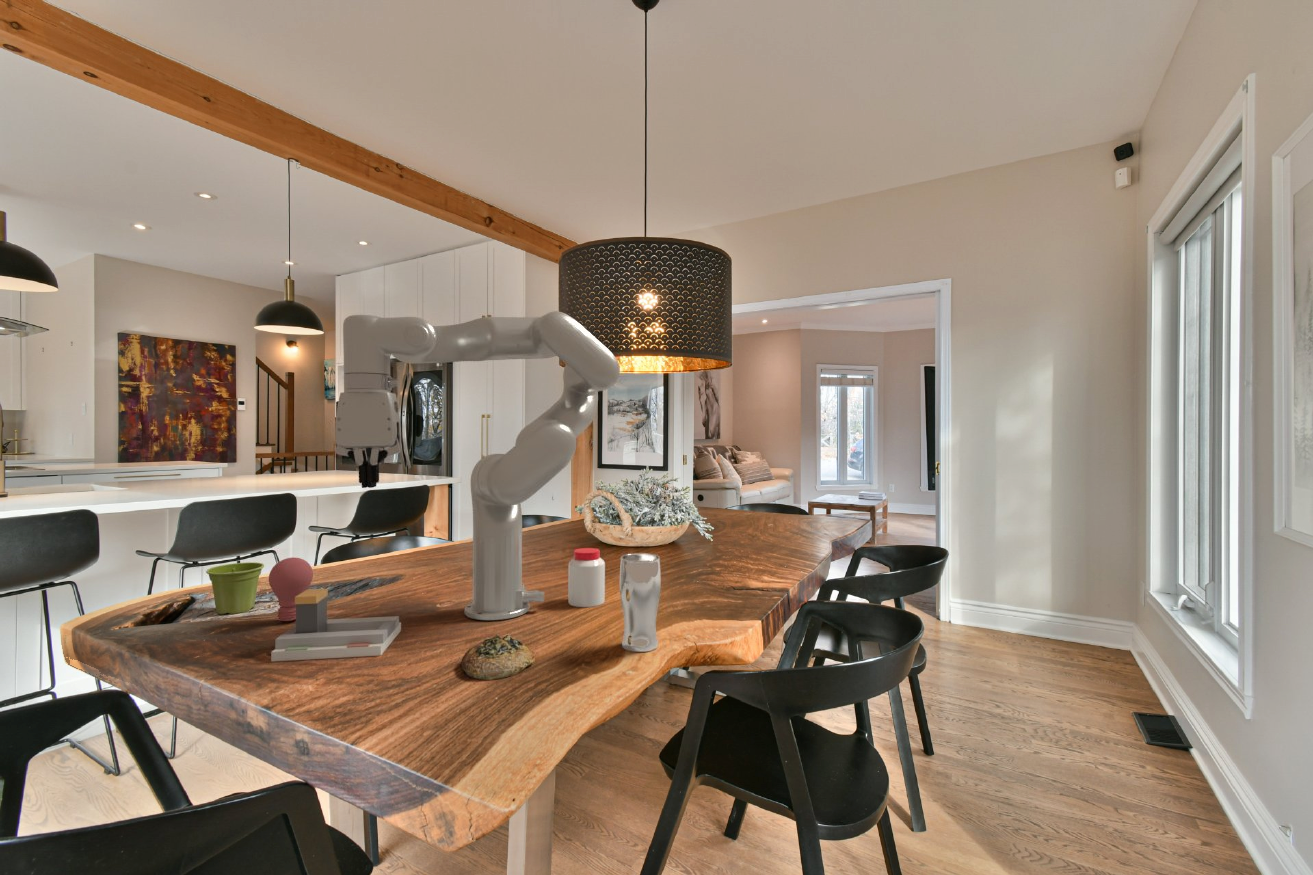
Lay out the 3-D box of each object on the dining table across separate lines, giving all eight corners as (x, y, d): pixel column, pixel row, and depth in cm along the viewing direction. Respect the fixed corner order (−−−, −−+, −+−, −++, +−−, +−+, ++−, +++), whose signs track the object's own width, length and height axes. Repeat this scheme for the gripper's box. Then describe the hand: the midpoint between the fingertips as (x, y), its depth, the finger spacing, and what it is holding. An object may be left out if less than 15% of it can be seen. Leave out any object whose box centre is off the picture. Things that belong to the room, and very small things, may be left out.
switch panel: (401, 630, 104) (401, 613, 104) (380, 655, 92) (380, 636, 92) (304, 635, 102) (304, 618, 102) (271, 661, 90) (271, 642, 90)
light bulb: (321, 615, 113) (321, 554, 113) (295, 627, 105) (295, 562, 105) (287, 614, 113) (287, 553, 113) (259, 626, 106) (259, 561, 106)
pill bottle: (589, 609, 117) (589, 555, 117) (560, 603, 121) (560, 551, 121) (612, 600, 124) (612, 549, 124) (584, 595, 128) (584, 545, 128)
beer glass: (629, 656, 92) (630, 562, 92) (612, 642, 99) (613, 554, 98) (668, 649, 96) (668, 558, 96) (649, 636, 102) (649, 551, 102)
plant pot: (272, 608, 117) (272, 565, 117) (218, 620, 109) (218, 575, 109) (251, 601, 122) (251, 560, 122) (197, 612, 114) (197, 568, 114)
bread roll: (474, 650, 94) (478, 621, 94) (540, 661, 94) (544, 631, 94) (446, 682, 83) (450, 648, 83) (521, 694, 83) (526, 660, 83)
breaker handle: (327, 630, 99) (327, 588, 99) (316, 640, 94) (316, 596, 94) (307, 631, 98) (307, 589, 98) (294, 641, 94) (294, 596, 94)
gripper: (416, 387, 109) (417, 484, 109) (330, 387, 106) (332, 486, 106) (406, 383, 101) (407, 488, 102) (313, 383, 99) (315, 490, 99)
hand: (369, 486), depth 104 cm, fingers closed
